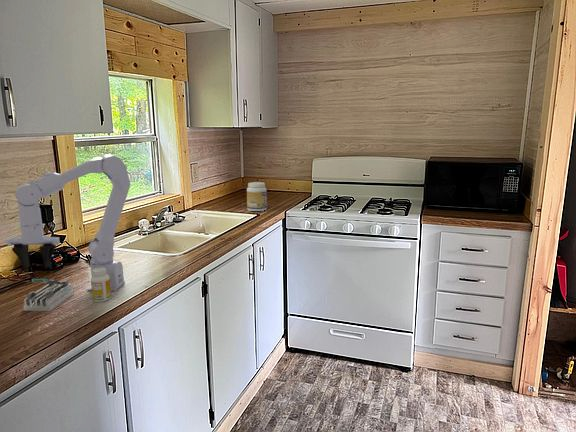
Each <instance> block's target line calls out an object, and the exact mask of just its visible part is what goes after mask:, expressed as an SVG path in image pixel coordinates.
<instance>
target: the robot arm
mask: <svg viewBox="0 0 576 432" xmlns="http://www.w3.org/2000/svg"><path fill="white" fill-rule="evenodd" d="M127 169H128V168H127V165H126V163H125V162H124V161H123V160H122V159H121V157H118V156H116V155H112V154H108V153H106V154H102V155H101V156H95V157H93V158H91V159H88V160H86V161H84V162H81V163H79V164H77V165H75V166H73V167H72V168H71V167H70V169H67V170H65V171H63V172H61V173H57V172H54V171H53V172H51V173H50V172H49V171H47V172H46V173H44V176H41V177H39V178H37V179H34V180H32V179H31V180H29V181H28V183H29V184H27V183H24V184H21V185H19V186H18V187H17V188H16V190H15V194H14V195H15V198H16V199H17V208H18V210H17V211H18V213H17V214H18V220H19V226H20V227H19V228H20V234H21V237H10V238H8V239H6V244H7V246H8V247H11V246H13V247H12V248H11V250H12V252H13V253H14V254H15V255H16V257H18V259H19V262H20V263H21V266H22V268H23V269H25V270H26V269H28V268H29V267H30V258H29V246H33V245H34V246H38V245H39V246H40V247H39V250H40V252H41V255H42V260H43V266H44V269H48V268H50V267H51V262H52V261H51V260H52V256H53V253H54V250H55V248H56V246H57V245H59V244H61V241H60V236H57V237H56V236H45V235H44V227H43V220H42V211H41V208H40V205H39V201H40V199H45V198H47V197H49V196H51V195H53V194H55V193H58V192H60V191H62V190H64V189H65V186H66V184H68V183H71V182H72V181H75V180H77V179H79V178H82V177H83V176H86V175H90V174H101V175H102V174H104V175H105V176H106V177H107V178H108V180H109V181H110V183H111V184H112V188H111V191H110V194H109V198H108V200H107V203H106V207H105V210H104V213H103V216H102V219H101V223H100V225H99V228H98V231H97V232H96V234H94V238H93V240H92V241H90V242H89V244H88V248H87V249H88V253H89V254H90V255H91V259H90V261H89V265H90V266H89V267H90V275H91V277H92V276H94V275H93V274H92V270H93V269H95V268H100V267H103V268H106V271H107V272H106V274H107V275H109V278H110V288H111V292H114V291H117V290H118V289H119V288H120V287H121V286H122V285H124V284H125V282H126V281H125V280H124V277H125V276H124V267H123V263H122V262H121V261H118V260H115V259H114V255H115V252H114V246H115V235H116V231H117V229H118V225H119V221H120V218H121V216H122V213H123V210H124V209H123V208H124V206H125V204H126V200H127V197H128V194H129V191H130V187H131V181H130V178H129V174H128V171H127ZM41 245H42V246H41ZM87 291H92V287H91V286H89V287H88V288H87Z"/></svg>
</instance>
